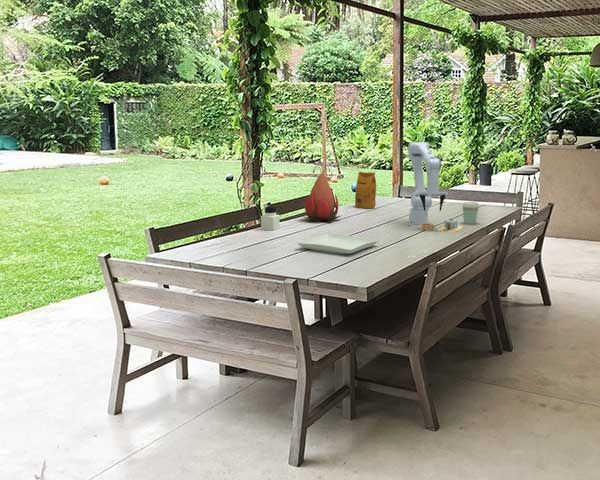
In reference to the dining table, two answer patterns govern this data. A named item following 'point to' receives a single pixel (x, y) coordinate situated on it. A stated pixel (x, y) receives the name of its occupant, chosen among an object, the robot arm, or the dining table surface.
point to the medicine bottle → (270, 219)
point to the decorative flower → (321, 201)
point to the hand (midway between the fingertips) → (432, 210)
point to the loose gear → (427, 226)
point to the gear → (451, 223)
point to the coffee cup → (470, 212)
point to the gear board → (449, 228)
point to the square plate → (337, 243)
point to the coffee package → (365, 191)
